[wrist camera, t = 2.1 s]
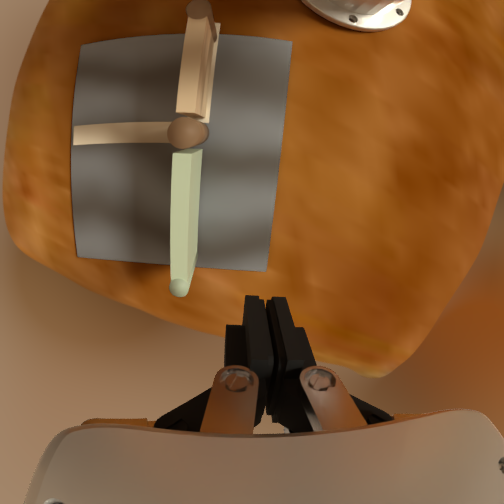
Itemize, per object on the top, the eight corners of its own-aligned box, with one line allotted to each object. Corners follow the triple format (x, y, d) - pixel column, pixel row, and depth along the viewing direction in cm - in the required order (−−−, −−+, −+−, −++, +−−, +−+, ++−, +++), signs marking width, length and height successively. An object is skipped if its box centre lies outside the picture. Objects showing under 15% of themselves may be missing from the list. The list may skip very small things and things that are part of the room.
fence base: (85, 35, 18) (46, 16, 12) (292, 32, 20) (311, 1, 13) (79, 255, 27) (45, 288, 20) (265, 269, 28) (274, 311, 22)
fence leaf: (186, 148, 23) (170, 153, 17) (203, 149, 23) (192, 154, 17) (182, 260, 26) (169, 296, 21) (198, 261, 27) (188, 297, 21)
